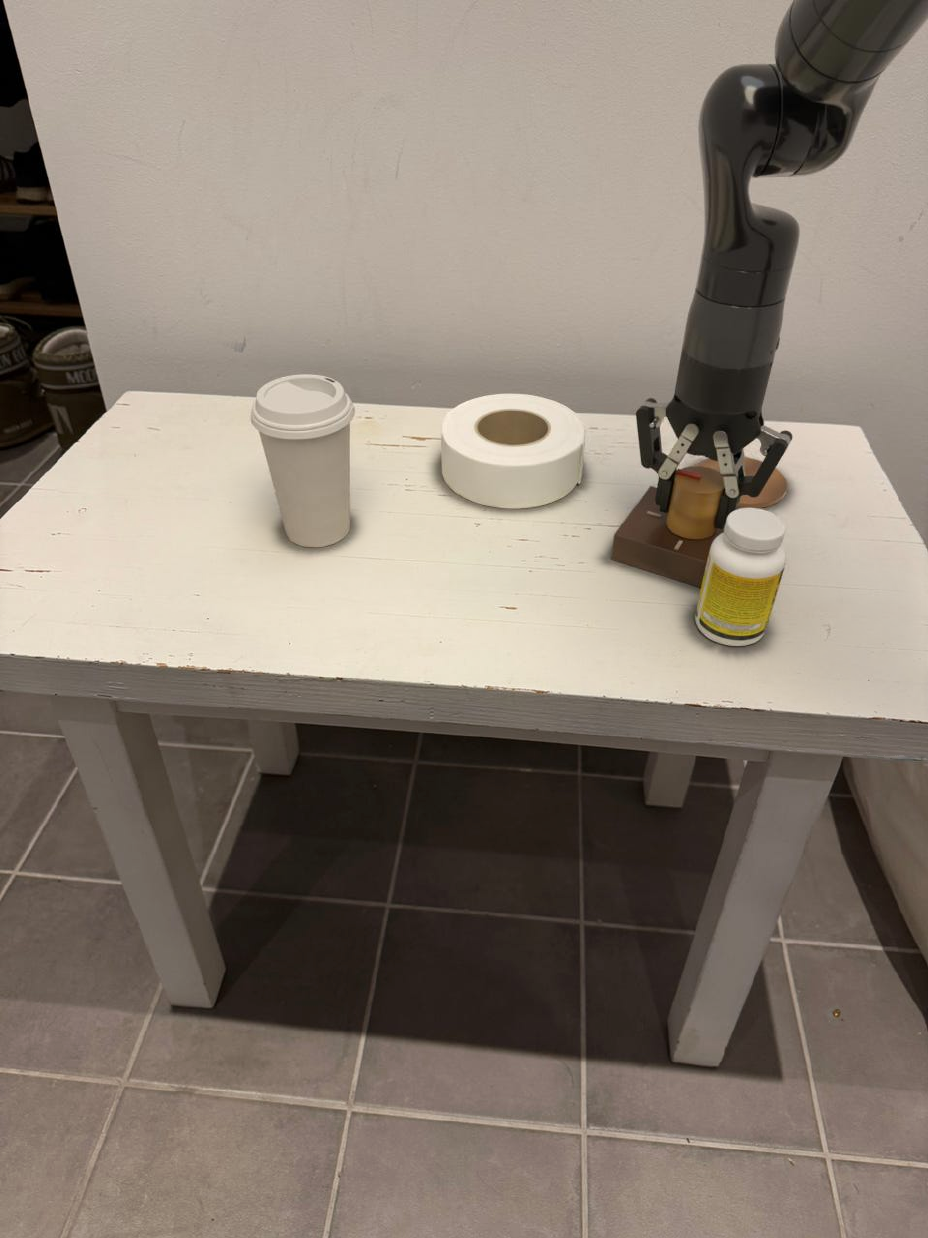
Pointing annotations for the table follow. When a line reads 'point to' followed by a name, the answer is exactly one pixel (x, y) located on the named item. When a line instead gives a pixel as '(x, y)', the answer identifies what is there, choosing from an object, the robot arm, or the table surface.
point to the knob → (695, 502)
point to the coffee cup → (308, 454)
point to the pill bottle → (742, 578)
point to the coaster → (769, 493)
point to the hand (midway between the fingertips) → (693, 515)
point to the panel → (660, 544)
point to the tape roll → (512, 450)
